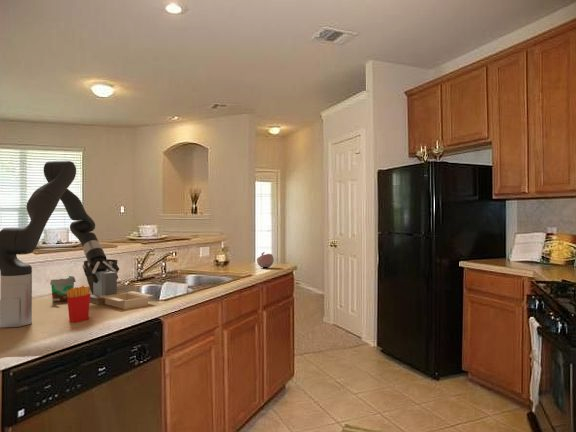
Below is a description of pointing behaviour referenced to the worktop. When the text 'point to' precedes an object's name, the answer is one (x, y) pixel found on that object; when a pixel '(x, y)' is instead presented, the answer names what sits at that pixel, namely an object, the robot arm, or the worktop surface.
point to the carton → (127, 300)
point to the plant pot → (91, 278)
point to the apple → (265, 260)
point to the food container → (61, 288)
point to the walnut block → (97, 299)
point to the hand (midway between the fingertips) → (106, 281)
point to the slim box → (105, 283)
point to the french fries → (78, 303)
